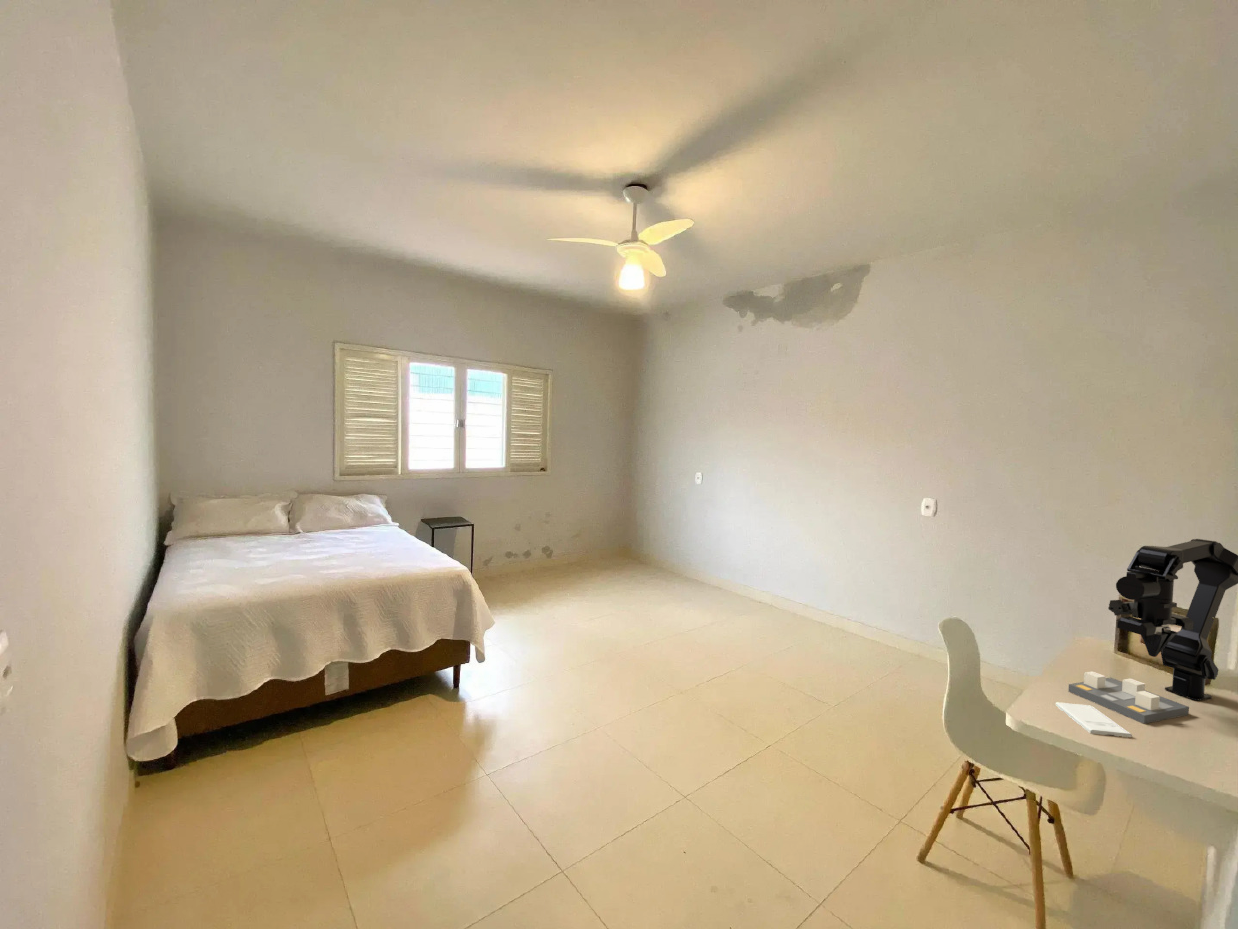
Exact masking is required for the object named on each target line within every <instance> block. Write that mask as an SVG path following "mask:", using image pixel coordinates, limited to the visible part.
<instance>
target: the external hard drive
mask: <svg viewBox="0 0 1238 929" xmlns="http://www.w3.org/2000/svg"><path fill="white" fill-rule="evenodd" d="M1055 705H1056V706H1057V707H1058V709H1059V710H1060V711H1061V712H1062V711H1064V712H1065V713H1066V714H1067V715H1068V716H1067V715H1066V714H1065V713H1064V712H1063V713H1064V714H1065V715H1066V716H1067V717H1069V718H1070V719H1071V718H1072V720H1073V721H1074V722H1075V723H1077V725H1079V726H1080V725H1081V726H1082V727H1081V728H1083V729H1084V730H1085V731H1087V732H1088V733H1089V734H1092V735H1099V736H1100V735H1101V736H1102V735H1103V736H1114V737H1119V736H1122V738H1128V737H1132V738H1133V734H1132V733H1130V732H1129V731H1128V730H1127V729H1125V728H1123V727H1122V725H1119V724H1118V723H1117V722H1116V721H1114V720H1113V719H1111V718H1110V717H1108V716H1107V715H1106V714H1104V713H1103V712H1102V711H1100V710H1099V709H1097V708H1096V707H1094V706H1093V705H1089V704H1081V703H1070V702H1069V703H1068V702H1061V701H1057V702H1055ZM1056 706H1055V707H1056ZM1057 707H1056V708H1057Z"/></svg>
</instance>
